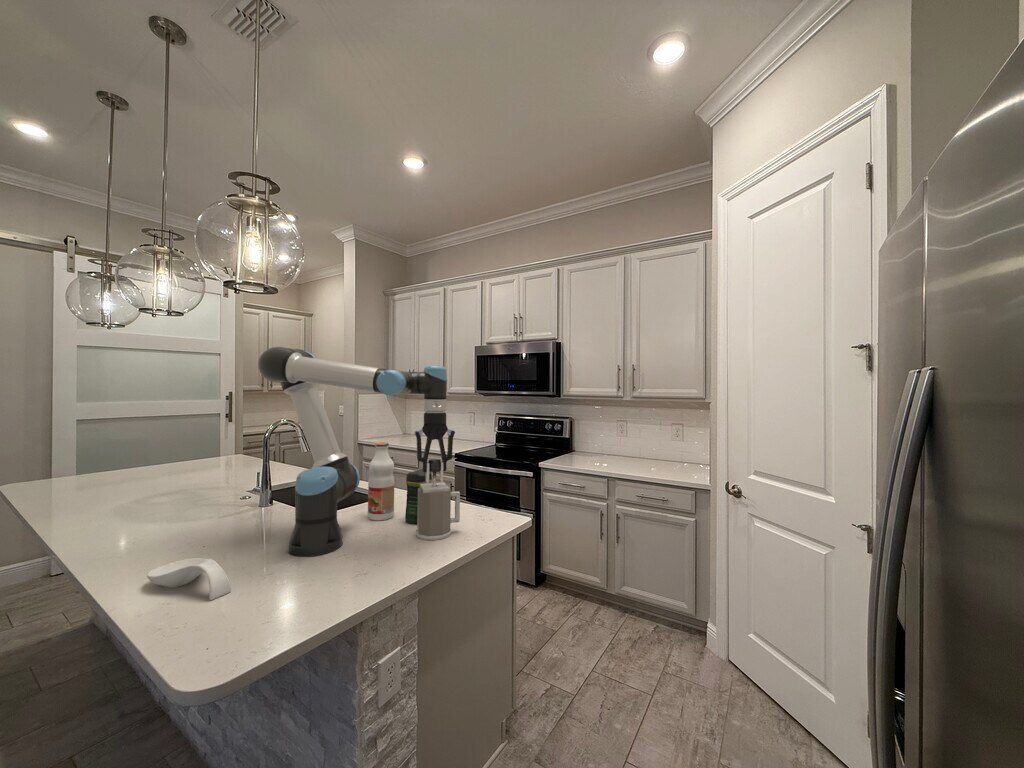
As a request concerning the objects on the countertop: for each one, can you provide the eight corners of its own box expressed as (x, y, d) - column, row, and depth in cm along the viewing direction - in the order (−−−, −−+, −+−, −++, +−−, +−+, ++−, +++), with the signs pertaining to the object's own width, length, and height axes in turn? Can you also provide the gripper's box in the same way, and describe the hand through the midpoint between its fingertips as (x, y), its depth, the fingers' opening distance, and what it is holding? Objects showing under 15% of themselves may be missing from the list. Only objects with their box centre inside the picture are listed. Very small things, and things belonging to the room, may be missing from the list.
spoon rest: (136, 587, 102) (136, 558, 102) (189, 568, 113) (190, 541, 113) (195, 609, 93) (195, 577, 93) (247, 586, 103) (247, 557, 103)
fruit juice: (394, 519, 155) (395, 444, 155) (367, 522, 152) (368, 445, 152) (393, 512, 164) (394, 440, 164) (367, 514, 160) (368, 441, 161)
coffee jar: (420, 525, 148) (420, 473, 148) (401, 522, 151) (402, 471, 151) (434, 517, 157) (435, 468, 157) (417, 515, 160) (417, 466, 160)
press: (418, 542, 133) (418, 491, 133) (414, 530, 144) (414, 483, 144) (462, 537, 138) (463, 488, 138) (455, 525, 149) (455, 480, 149)
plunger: (423, 524, 135) (424, 462, 136) (420, 517, 143) (421, 458, 143) (447, 522, 138) (447, 461, 138) (443, 515, 145) (443, 457, 145)
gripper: (410, 413, 134) (409, 485, 134) (462, 412, 140) (461, 482, 140) (408, 411, 141) (407, 480, 141) (457, 410, 147) (456, 477, 147)
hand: (434, 481), depth 140 cm, fingers closed on plunger, 4 cm apart
